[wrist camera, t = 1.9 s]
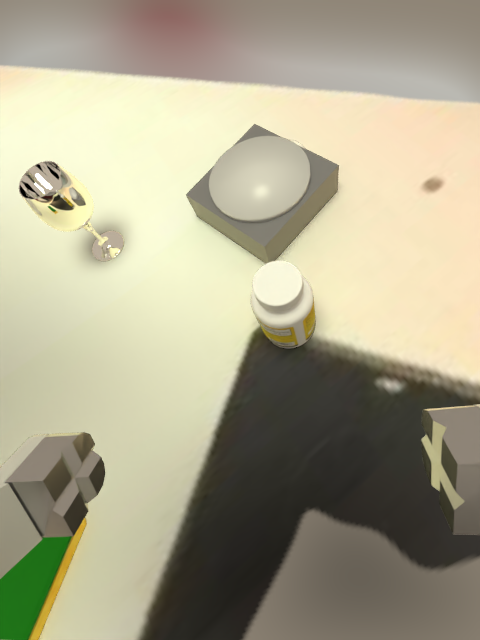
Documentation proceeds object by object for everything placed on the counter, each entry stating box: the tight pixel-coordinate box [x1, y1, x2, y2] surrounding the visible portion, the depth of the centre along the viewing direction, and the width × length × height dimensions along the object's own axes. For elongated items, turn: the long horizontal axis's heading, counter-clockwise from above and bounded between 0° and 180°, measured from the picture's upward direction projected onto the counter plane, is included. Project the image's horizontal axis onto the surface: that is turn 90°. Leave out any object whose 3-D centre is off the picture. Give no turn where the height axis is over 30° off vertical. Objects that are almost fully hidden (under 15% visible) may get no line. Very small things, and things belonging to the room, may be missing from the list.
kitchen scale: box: [186, 124, 339, 264], centre depth 40 cm, size 12×13×5 cm
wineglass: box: [19, 161, 124, 261], centre depth 40 cm, size 6×6×12 cm
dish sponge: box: [0, 518, 86, 640], centre depth 33 cm, size 7×14×2 cm, turn 161°
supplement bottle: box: [251, 260, 315, 348], centre depth 32 cm, size 5×5×10 cm
